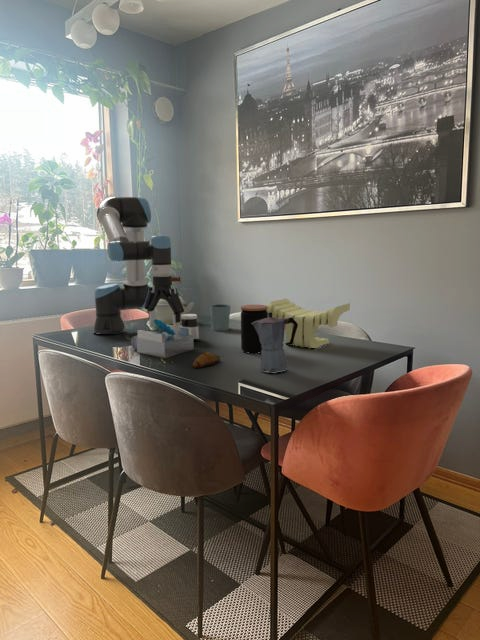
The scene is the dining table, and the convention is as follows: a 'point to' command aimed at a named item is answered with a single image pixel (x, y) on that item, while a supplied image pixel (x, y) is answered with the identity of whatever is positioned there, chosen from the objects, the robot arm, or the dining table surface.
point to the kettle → (164, 309)
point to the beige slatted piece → (305, 321)
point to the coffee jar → (251, 327)
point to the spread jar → (191, 324)
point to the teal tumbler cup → (220, 317)
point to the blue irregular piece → (163, 327)
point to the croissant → (205, 360)
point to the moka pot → (273, 341)
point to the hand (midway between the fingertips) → (164, 328)
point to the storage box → (163, 342)
